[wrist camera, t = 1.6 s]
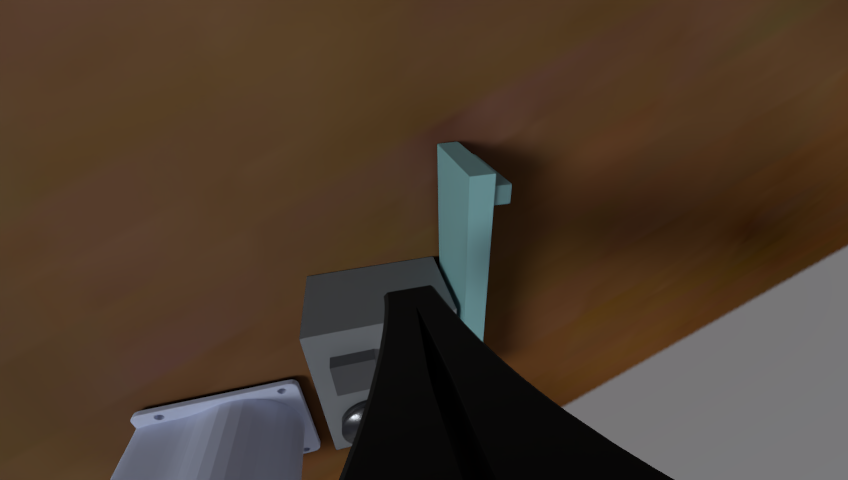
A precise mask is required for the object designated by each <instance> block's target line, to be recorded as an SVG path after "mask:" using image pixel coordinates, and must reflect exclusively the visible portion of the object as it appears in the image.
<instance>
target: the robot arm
mask: <svg viewBox="0 0 848 480" xmlns="http://www.w3.org/2000/svg"><path fill="white" fill-rule="evenodd" d="M384 304H385V311H384V324H383V332H382V338H381V343H380V349H379V355H378V359H377V364H376V368H375V372H374V376H373V380H372V383H371V387H370V391H369V395H368V398H367V401H366V405H365V408H364V411H363V415H362V418H361V421H360V424H359V427H358V430H357V433H356V436H355V438H354V441H353V444H352V446H351V449H350V452H349V455H348V457H347V460H346V463H345V465H344V468H343V471H342V473H341V476H340V478H339V480H674V479H672V478H670V477H669V476H667V475H665V474H663V473H662V472H660V471H658V470H657V469H655V468H653V467H652V466H650V465H648V464H647V463H645V462H643V461H642V460H640V459H639V458H637V457H635V456H634V455H632V454H630V453H629V452H627V451H626V450H624V449H622V448H621V447H619V446H617V445H616V444H614V443H613V442H611V441H610V440H608V439H607V438H605V437H604V436H602V435H601V434H599V433H598V432H596V431H595V430H593V429H592V428H590V427H589V426H588V425H586V424H585V423H583V422H582V421H580V420H579V419H577V418H576V417H574V416H573V415H571V414H570V413H568V412H567V411H565V410H564V409H563V408H561V407H560V406H559V405H557V404H556V403H555V402H553V401H552V400H551V399H549V398H548V397H547V396H545V395H544V394H543V393H541V392H540V391H539V390H538V389H536V388H535V387H534V386H532V385H531V384H530V383H529V382H527V381H526V380H525V379H524V378H522V377H521V376H520V375H519V374H518V373H517V372H515V371H514V370H513V369H512V368H511V367H510V366H508V365H507V364H506V363H505V362H504V361H503V360H502V359H501V358H500V357H498V356H497V355H496V354H495V353H494V352H493V351H492V350H491V349H490V348H489V347H488V346H487V345H486V344H485V343H483V342H482V341H481V340H480V339H479V338H478V337H477V335H476V334H475V333H474V332H473V331H472V330H471V329H470V328H469V327H468V326H467V325H466V324H465V323H464V322H463V321H462V320H461V319H460V318H459V317H458V316H457V314H456V313H455V312H454V311H453V310H452V309H451V308H450V306H449V305H448V304H447V303H446V302H445V301H444V299H443V298H442V297H441V296H440V294H439V293H438V292H437V290H436V289H435V288H434V287H433V286H431V285H427V286H421V287H415V288H410V289H404V290H398V291H392V292H387V293H386V294H385V295H384ZM131 423H132V424H133V425H134V426H135V427H136V430H135V432H134V434H133V436H132V438H131V440H130V442H129V444H128V446H127V448H126V450H125V452H124V454H123V456H122V458H121V460H120V462H119V464H118V466H117V467H116V469H115V471H114V473H113V475H112V477H111V479H110V480H301V476H302V463H303V454H304V453H308V452H312V451H316V450H318V449H319V448H320V439H319V436H318V434H317V431H316V428H315V425H314V423H313V420H312V417H311V415H310V412H309V409H308V407H307V404H306V401H305V398H304V396H303V393H302V390H301V388H300V385H299V383H298V381H296V380H293V379H290V380H285V381H280V382H275V383H270V384H266V385H261V386H256V387H251V388H247V389H242V390H237V391H232V392H227V393H223V394H218V395H213V396H208V397H203V398H199V399H194V400H189V401H184V402H180V403H175V404H170V405H165V406H160V407H156V408H151V409H146V410H141V411H138V412H136V413H134V414H133V416H132V418H131Z"/></svg>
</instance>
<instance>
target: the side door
mask: <svg viewBox="0 0 848 480" xmlns="http://www.w3.org/2000/svg"><path fill="white" fill-rule="evenodd" d="M437 153H438V211H439V269H440V273H441V276H442V278H443V280H444V282H445V284H446V287H447V289H448V291H449V293H450V296H451V298H452V300H453V302H454V304H455V307H456V309H457V316H458V317H459V318H460V319H461V320H462V321H463V322H464V323H465V324H466V325H467V326H468V327H469V328H470V329H471V330H472V331H473V332H474V333H475V334H476V335H477V337H478V338H479V339H480V340H481V341H482V342H483V336H484V323H485V310H486V297H487V284H488V271H489V258H490V246H491V233H492V220H493V207H494V205H501V204H508V203H510V199H511V189H512V184H511V183H510V182H509V181H508V180H506V179H505V178H504V177H503V176H502V175H500V174H499V173H498V172H497V171H495V170H494V169H493V168H492V167H490V166H489V165H488V164H487V163H486V162H484V161H483V160H482V159H481V158H479V157H478V156H477V155H476V154H472V153H471V152H470V151H468V150H467V149H466V148H465V147H464V146H462V145H461V144H460V143H459V142H450V143H441V144H437Z"/></svg>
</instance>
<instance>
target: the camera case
mask: <svg viewBox="0 0 848 480" xmlns="http://www.w3.org/2000/svg"><path fill="white" fill-rule="evenodd" d="M427 285H431V286H433V287H434V288H435V289H436V290H437V292H438V293H439V294H440V296H441V297H442V298H443V299H444V301H445V302H446V303H447V304H448V305H449V306H450V308H451V309H452V310H453V311H454V312H455V313H456V314H457V309H456V307H455V304H454V302H453V300H452V298H451V296H450V293H449V291H448V289H447V287H446V284H445V282H444V280H443V278H442V276H441V273H440V271H439V269H438V267H437V264H436V262H435V260H434V258H433V256H432V257H426V258H420V259H414V260H407V261H401V262H395V263H389V264H382V265H376V266H370V267H364V268H357V269H351V270H345V271H339V272H332V273H326V274H320V275H314V276H307V281H306V289H305V297H304V305H303V314H302V322H301V330H300V338H299V339H300V342H301V345H302V348H303V351H304V354H305V357H306V360H307V363H308V366H309V369H310V372H311V375H312V379H313V382H314V385H315V388H316V391H317V394H318V397H319V400H320V403H321V406H322V409H323V412H324V415H325V418H326V421H327V424H328V427H329V430H330V433H331V436H332V439H333V442H334V445H335V448H336V450H338V449H342V448H346V447H350V446H352V444H353V441H354V438H355V436H356V433H357V430H358V427H359V424H360V421H361V418H362V415H363V411H364V408H365V405H366V401H367V398H368V395H369V391H370V387H371V383H372V380H373V376H374V372H375V368H376V364H377V359H378V355H379V349H380V343H381V338H382V332H383V324H384V311H385V304H384V295H385V294H386V293H387V292H392V291H398V290H404V289H410V288H415V287H421V286H427Z"/></svg>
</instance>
